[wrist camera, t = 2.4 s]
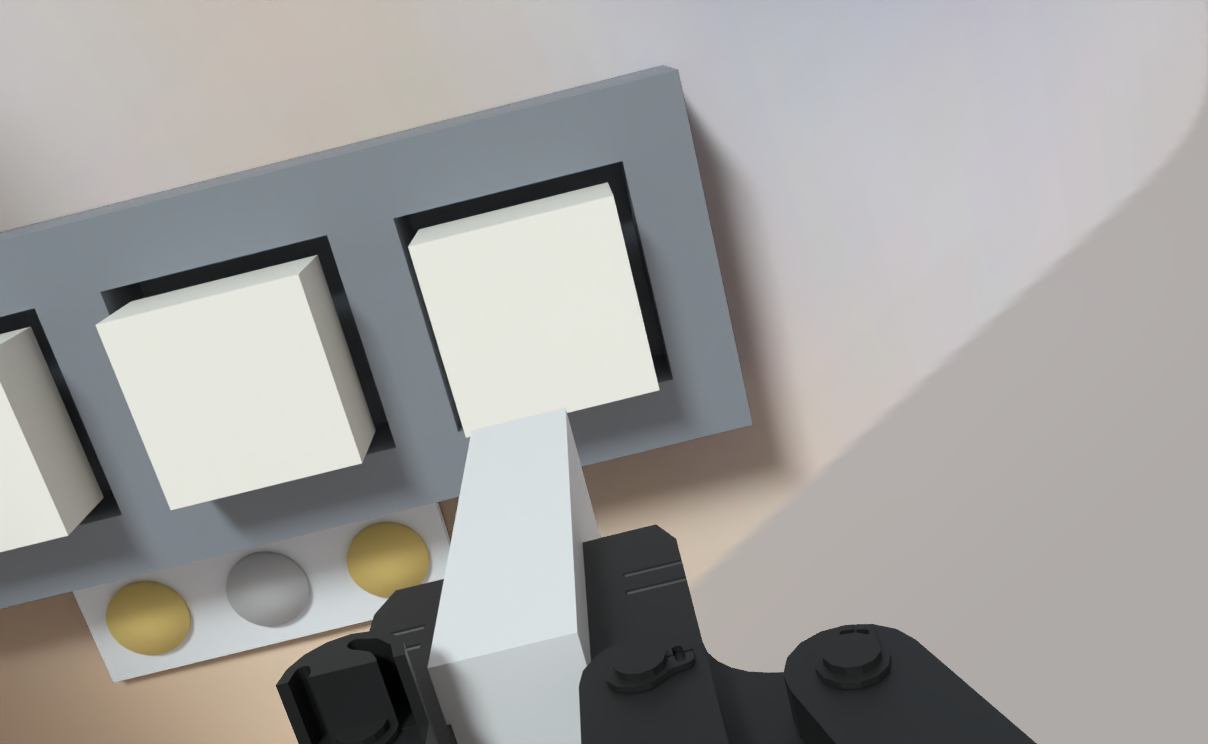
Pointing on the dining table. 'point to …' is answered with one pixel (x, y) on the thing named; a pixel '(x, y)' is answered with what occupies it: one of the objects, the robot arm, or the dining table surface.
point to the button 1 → (38, 451)
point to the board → (369, 312)
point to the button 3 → (535, 308)
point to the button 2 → (240, 382)
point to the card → (263, 592)
